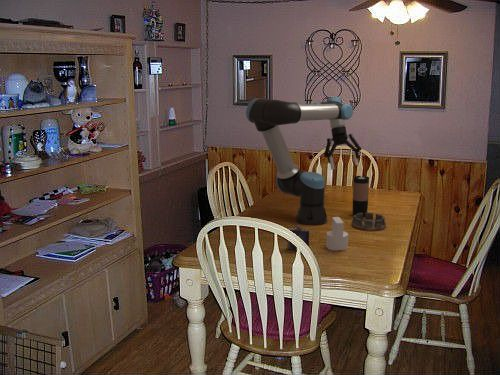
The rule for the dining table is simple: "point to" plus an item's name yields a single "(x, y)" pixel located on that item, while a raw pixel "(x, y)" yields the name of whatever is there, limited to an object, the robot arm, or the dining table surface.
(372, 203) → the dining table surface
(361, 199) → the travel mug
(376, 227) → the ring collar holder
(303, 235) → the flask
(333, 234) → the base with upright slab
